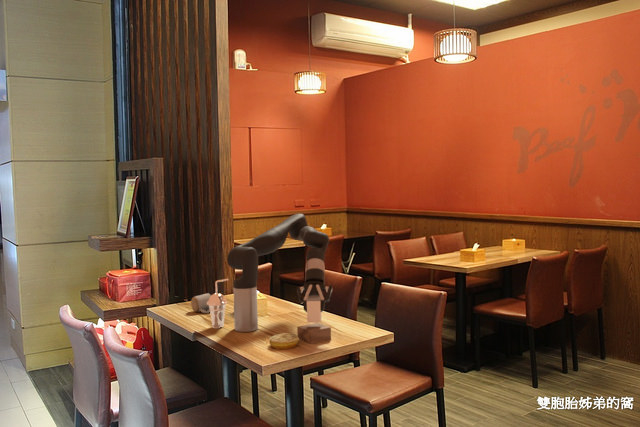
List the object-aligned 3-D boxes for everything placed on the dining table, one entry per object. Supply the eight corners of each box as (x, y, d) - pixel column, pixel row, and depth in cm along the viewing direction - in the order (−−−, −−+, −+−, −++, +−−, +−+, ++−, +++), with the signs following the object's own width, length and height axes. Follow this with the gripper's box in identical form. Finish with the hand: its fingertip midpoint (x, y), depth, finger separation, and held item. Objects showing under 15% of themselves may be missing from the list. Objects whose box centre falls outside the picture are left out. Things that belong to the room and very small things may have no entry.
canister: (308, 319, 218) (307, 295, 217) (321, 318, 217) (320, 295, 217) (307, 322, 213) (306, 298, 212) (320, 322, 212) (320, 298, 212)
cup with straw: (217, 323, 242) (215, 276, 241) (233, 325, 237) (232, 277, 236) (203, 328, 235) (201, 279, 234) (220, 330, 230) (218, 281, 229)
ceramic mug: (190, 311, 266) (189, 294, 265) (206, 308, 271) (205, 292, 271) (201, 315, 258) (200, 298, 257) (217, 312, 263) (216, 295, 263)
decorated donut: (303, 343, 211) (303, 332, 211) (291, 351, 201) (291, 340, 201) (277, 340, 215) (277, 330, 214) (264, 348, 205) (264, 338, 204)
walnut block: (297, 338, 216) (297, 326, 216) (317, 334, 221) (316, 322, 221) (311, 343, 209) (310, 331, 208) (331, 339, 214) (330, 327, 214)
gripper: (333, 278, 226) (333, 316, 215) (297, 278, 227) (295, 316, 216) (333, 267, 221) (332, 305, 210) (295, 267, 222) (293, 305, 210)
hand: (313, 310), depth 213 cm, fingers closed on canister, 5 cm apart
